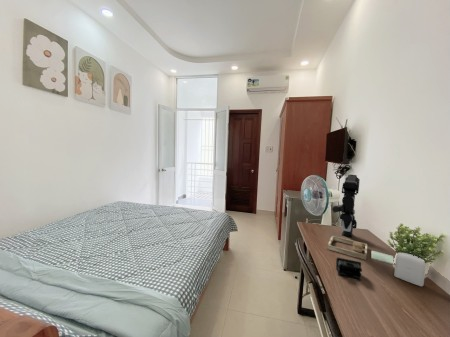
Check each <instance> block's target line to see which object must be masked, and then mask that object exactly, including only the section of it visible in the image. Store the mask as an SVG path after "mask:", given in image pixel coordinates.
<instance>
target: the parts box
mask: <svg viewBox="0 0 450 337" xmlns="http://www.w3.org/2000/svg"><path fill="white" fill-rule="evenodd" d="M341 221H342V226H341V231H343V230H344V231H348V232H350V231H351V223H352V222H351V223H350V225H349V227H348V228H347V229H345V226H344V221H343V220H342V219H341Z"/></svg>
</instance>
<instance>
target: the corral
mask: <svg viewBox="0 0 450 337" xmlns="http://www.w3.org/2000/svg"><path fill="white" fill-rule="evenodd" d="M334 241H335V242H340V243H343V244H348V245H350V246H351V245H352V246H353V242H358V243H361V244H362V249H363V248H364V253H362V252H358V251H354V250H350V249H345V248H342V247H338V246H334V245H332V244H333V242H334ZM326 249H327V250H329V251H332V252H336V253H340V254H342V255H347V256H350V257H354V258H357V259H362V260H364V261H366V260H367V254H368V244H367V243H365V242H359V241H358V240H357V241H356V240H352V239H347V238H344V237H339V236H335V235H331V237H330V238H329V241H328V243H327V247H326Z"/></svg>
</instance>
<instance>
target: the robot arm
mask: <svg viewBox="0 0 450 337" xmlns="http://www.w3.org/2000/svg"><path fill="white" fill-rule="evenodd" d="M359 189H360V178H359V177H358V175H357V174H348V175H347V176H346V177H345V180H344V182H342V187H341V194H343V197H342V199H341V201H342V204H339V205H334V206H333V205H332V206H331V211H332V212H333V214H334V213H340V214H339V219H340V220H341V227H342V220H343V221H344V226H345V229H347V228H348V227H349V225H350V223H351V222H352V223H351V231H350V232H348V231H344V230H342V233H341V235H342V236H345V237H348V238H353V237H354V233H353V229H354V230H355V229H357V226H358V222H357V220H356V217H355V213H356V211H355V200H356V196H357V195H358V194H359Z"/></svg>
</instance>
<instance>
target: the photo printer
mask: <svg viewBox="0 0 450 337" xmlns="http://www.w3.org/2000/svg"><path fill="white" fill-rule="evenodd" d="M418 257H419V256H416V255H414V256H413V254H410V253H406V252H397V254H396V256H395V261H394V263H395V265H394V272H393V273H394V274H393V275H394V277H396V278H398V279H399V280H403V281H406V282H408V283H410V284H413V285H416V286H419V287H423V286H425V285H424V283H425V274H426V263H425V262H426V261H425V260H424V259H423V258H421V257H419V258H418Z"/></svg>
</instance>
